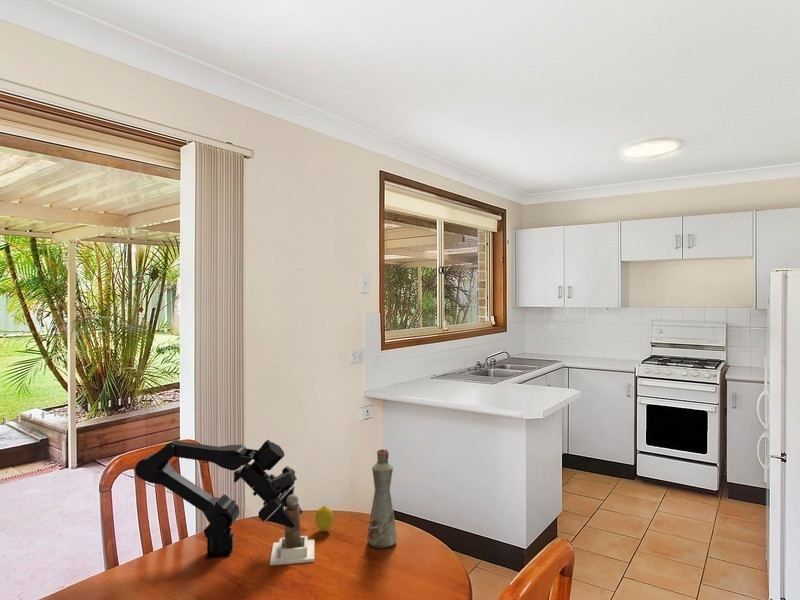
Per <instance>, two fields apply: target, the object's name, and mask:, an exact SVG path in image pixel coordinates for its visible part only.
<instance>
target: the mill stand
mask: <svg viewBox="0 0 800 600" xmlns="http://www.w3.org/2000/svg"><path fill="white" fill-rule="evenodd" d="M300 536H301V547H298V548H285V536H284V537H279V541H278V542H272V543H273V544H272V549H271V554H270V559H269V566H277V565H278V566H280V565H292V564H304V563H305V564H306V563H314V562H315V539H308V535H300Z"/></svg>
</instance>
